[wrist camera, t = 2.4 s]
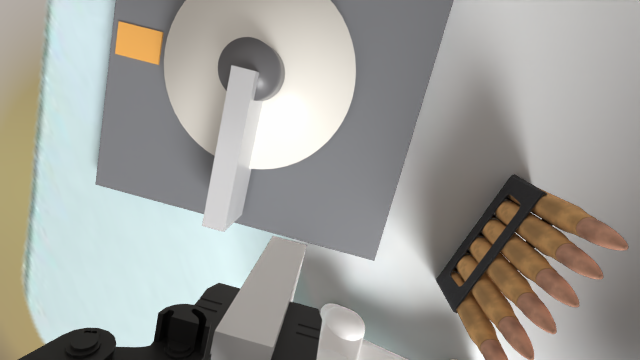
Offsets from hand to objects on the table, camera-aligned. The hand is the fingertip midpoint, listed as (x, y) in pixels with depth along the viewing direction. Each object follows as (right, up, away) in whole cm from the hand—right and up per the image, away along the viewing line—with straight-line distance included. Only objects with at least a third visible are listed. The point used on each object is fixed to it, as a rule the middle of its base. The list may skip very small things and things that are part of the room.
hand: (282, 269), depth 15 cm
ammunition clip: (+15, -1, +14) cm, 21 cm away
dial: (-3, +10, +12) cm, 16 cm away
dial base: (-3, +12, +13) cm, 18 cm away
